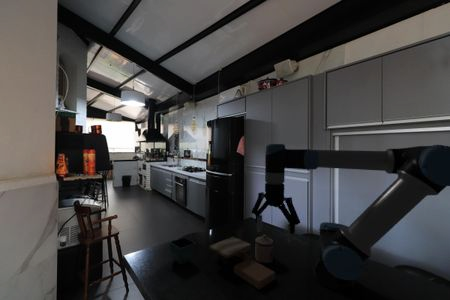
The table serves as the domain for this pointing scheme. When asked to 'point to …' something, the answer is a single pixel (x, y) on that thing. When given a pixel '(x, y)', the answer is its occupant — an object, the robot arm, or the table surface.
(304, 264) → the table surface
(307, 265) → the table surface
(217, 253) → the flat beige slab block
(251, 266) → the tile
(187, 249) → the flower pot
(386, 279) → the table surface
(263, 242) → the teacup with lid
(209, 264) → the table surface
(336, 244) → the robot arm
